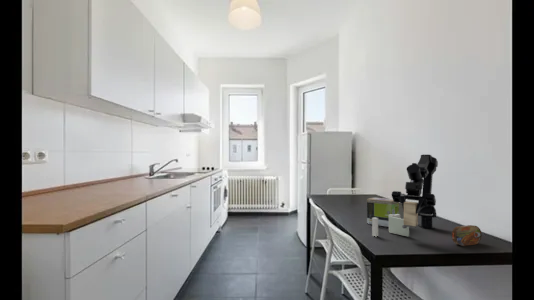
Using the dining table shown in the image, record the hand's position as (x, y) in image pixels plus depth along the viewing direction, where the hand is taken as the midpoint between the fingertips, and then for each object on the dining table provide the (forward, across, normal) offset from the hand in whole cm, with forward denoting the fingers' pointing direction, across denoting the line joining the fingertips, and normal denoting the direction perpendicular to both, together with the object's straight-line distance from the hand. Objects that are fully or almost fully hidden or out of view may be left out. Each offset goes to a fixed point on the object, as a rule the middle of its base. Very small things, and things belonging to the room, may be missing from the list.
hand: (409, 212), depth 141 cm
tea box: (-9, -21, +29) cm, 37 cm away
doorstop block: (+4, 0, +6) cm, 7 cm away
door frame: (+4, -13, +15) cm, 20 cm away
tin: (+2, +21, +18) cm, 28 cm away
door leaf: (+4, -8, +15) cm, 17 cm away
